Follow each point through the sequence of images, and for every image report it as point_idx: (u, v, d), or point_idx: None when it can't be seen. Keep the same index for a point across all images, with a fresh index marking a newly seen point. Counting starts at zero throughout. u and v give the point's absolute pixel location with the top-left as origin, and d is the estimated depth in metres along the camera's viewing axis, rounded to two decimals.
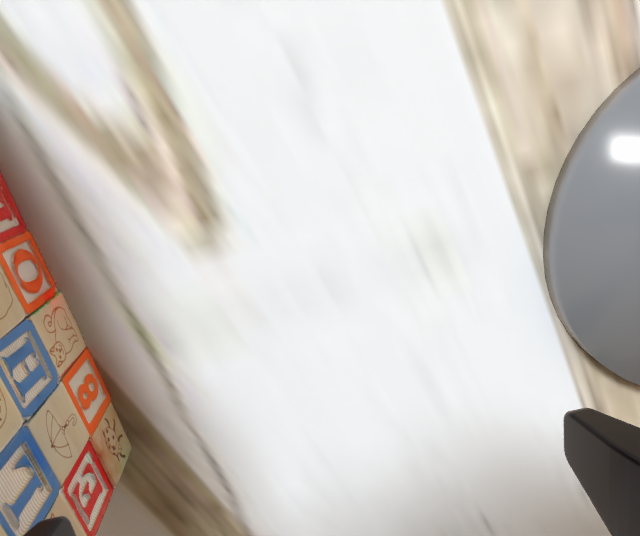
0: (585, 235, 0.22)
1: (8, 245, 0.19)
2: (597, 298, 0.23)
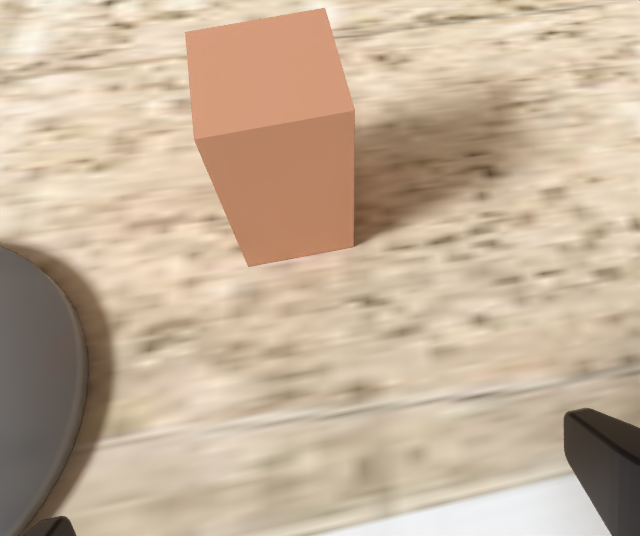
0: None
1: None
2: None
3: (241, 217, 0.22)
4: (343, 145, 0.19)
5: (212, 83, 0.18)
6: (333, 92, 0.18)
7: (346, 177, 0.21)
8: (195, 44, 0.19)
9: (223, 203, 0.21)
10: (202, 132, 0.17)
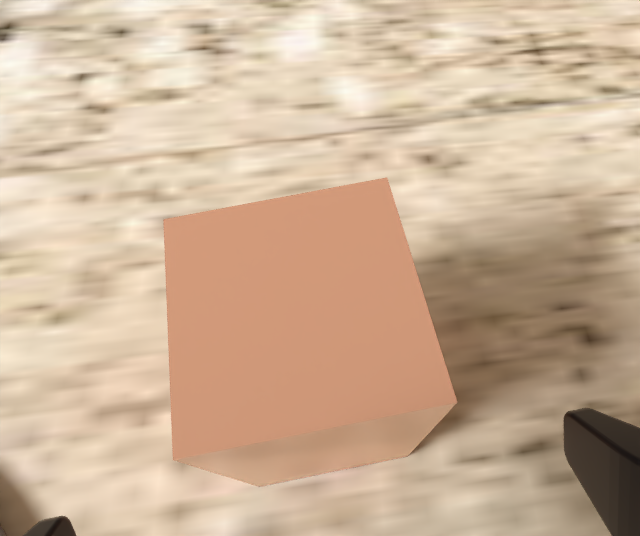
0: None
1: None
2: None
3: (252, 474, 0.14)
4: (425, 421, 0.11)
5: (207, 331, 0.11)
6: (415, 358, 0.10)
7: (418, 434, 0.13)
8: (178, 244, 0.12)
9: (225, 474, 0.13)
10: (188, 442, 0.10)
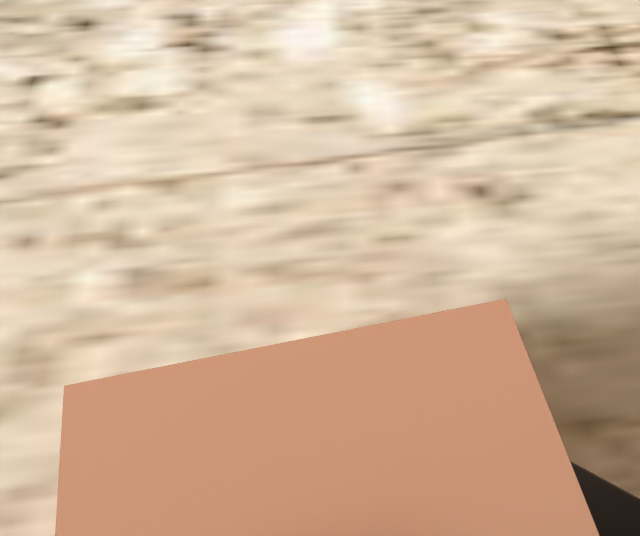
0: None
1: None
2: None
3: None
4: None
5: None
6: None
7: None
8: (88, 448, 0.06)
9: None
10: None
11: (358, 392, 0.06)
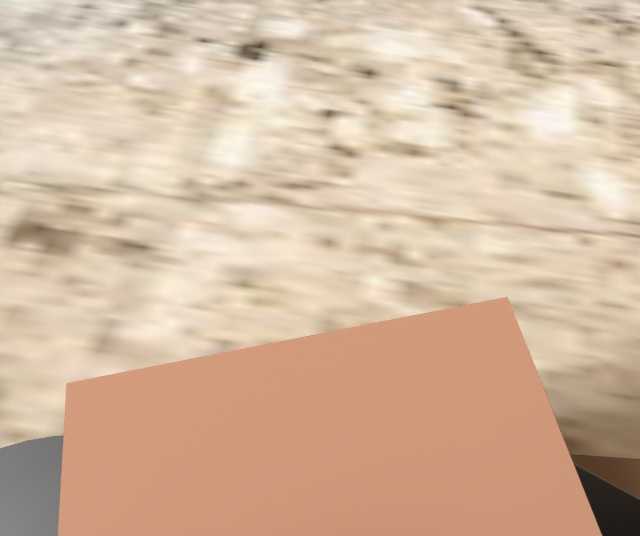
0: None
1: None
2: None
3: None
4: None
5: None
6: None
7: None
8: (91, 445, 0.06)
9: None
10: None
11: (360, 390, 0.06)
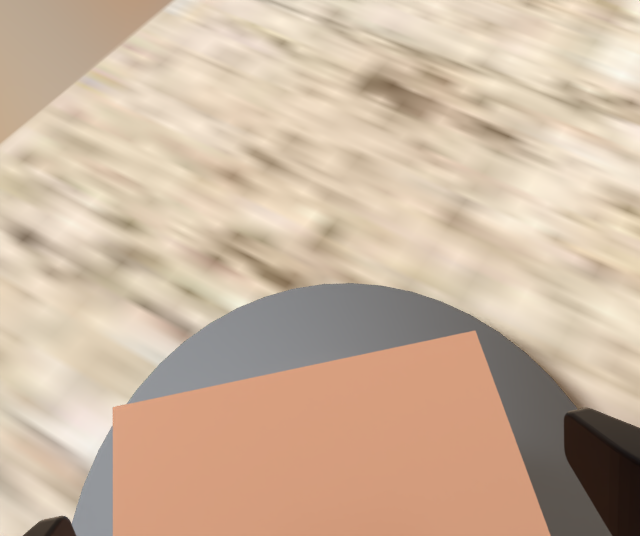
0: None
1: None
2: None
3: None
4: None
5: None
6: None
7: None
8: (135, 458, 0.07)
9: None
10: None
11: (354, 410, 0.07)
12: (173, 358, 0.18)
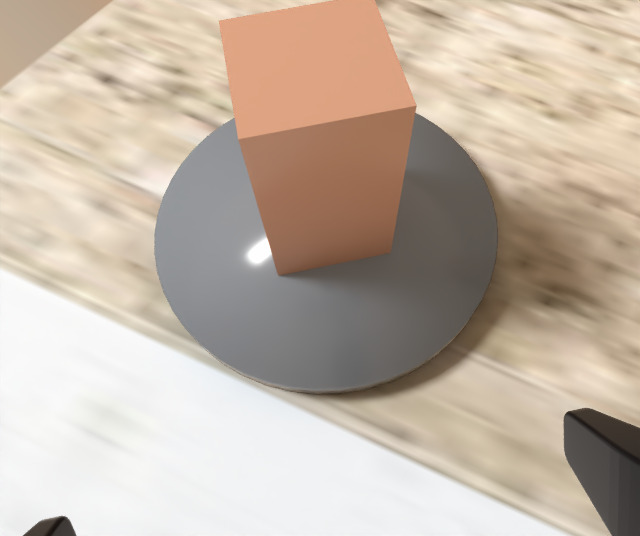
0: (206, 309, 0.24)
1: None
2: (263, 342, 0.23)
3: (278, 224, 0.20)
4: (398, 144, 0.17)
5: (254, 77, 0.16)
6: (390, 85, 0.16)
7: (395, 179, 0.19)
8: (230, 33, 0.17)
9: (261, 209, 0.19)
10: (247, 131, 0.15)
11: (319, 17, 0.18)
12: (215, 134, 0.29)
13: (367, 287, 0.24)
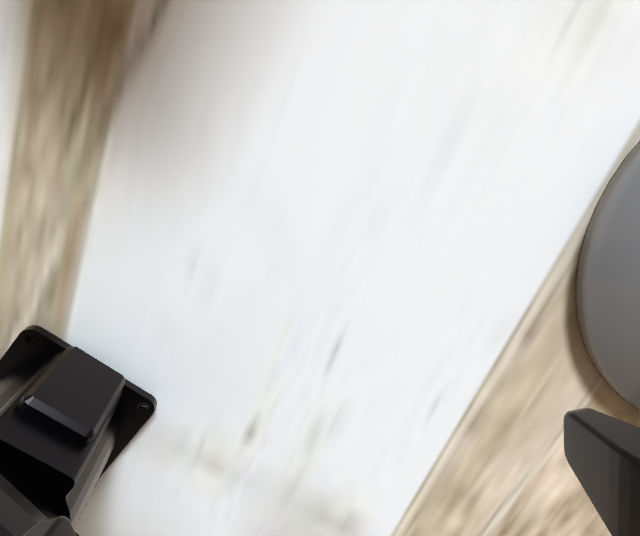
0: None
1: None
2: None
3: None
4: None
5: None
6: None
7: None
8: None
9: None
10: None
11: None
12: None
13: None
